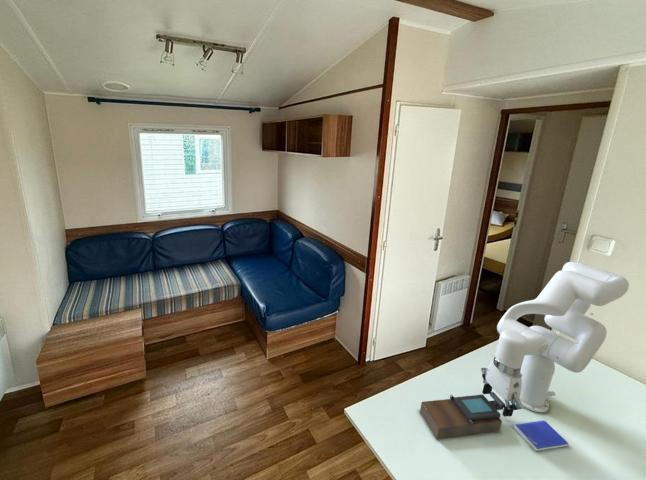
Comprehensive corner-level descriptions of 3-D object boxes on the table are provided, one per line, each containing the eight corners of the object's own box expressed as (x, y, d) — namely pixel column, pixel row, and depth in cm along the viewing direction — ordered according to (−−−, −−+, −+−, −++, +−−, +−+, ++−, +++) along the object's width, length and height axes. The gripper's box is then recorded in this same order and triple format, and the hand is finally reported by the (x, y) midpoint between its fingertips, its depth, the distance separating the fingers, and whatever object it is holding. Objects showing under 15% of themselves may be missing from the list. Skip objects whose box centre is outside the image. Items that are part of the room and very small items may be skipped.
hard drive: (537, 448, 95) (568, 443, 97) (514, 423, 103) (544, 419, 105) (535, 451, 96) (567, 446, 97) (513, 427, 103) (543, 423, 105)
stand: (477, 405, 111) (480, 392, 110) (499, 432, 101) (503, 418, 100) (419, 411, 109) (421, 397, 107) (436, 440, 99) (439, 425, 97)
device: (490, 397, 109) (492, 388, 108) (508, 417, 102) (511, 407, 101) (453, 400, 108) (454, 391, 106) (468, 421, 100) (471, 411, 99)
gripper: (540, 384, 93) (527, 426, 97) (495, 346, 109) (486, 383, 114) (519, 386, 92) (507, 428, 96) (477, 347, 108) (469, 384, 113)
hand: (496, 403), depth 105 cm, fingers open, 8 cm apart
